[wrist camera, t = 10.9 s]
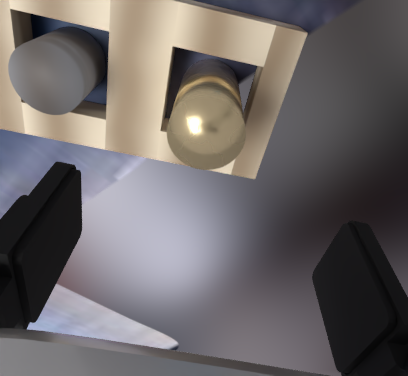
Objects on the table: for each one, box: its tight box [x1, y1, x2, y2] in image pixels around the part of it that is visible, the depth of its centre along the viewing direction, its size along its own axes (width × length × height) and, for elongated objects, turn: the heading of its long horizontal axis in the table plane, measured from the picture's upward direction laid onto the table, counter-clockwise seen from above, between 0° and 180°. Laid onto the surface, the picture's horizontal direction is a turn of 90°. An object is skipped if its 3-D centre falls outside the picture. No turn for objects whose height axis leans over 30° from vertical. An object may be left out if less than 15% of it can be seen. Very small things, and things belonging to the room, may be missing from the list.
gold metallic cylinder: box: [167, 59, 246, 170], centre depth 21 cm, size 4×4×8 cm
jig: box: [0, 0, 308, 179], centre depth 22 cm, size 20×11×5 cm, turn 78°
